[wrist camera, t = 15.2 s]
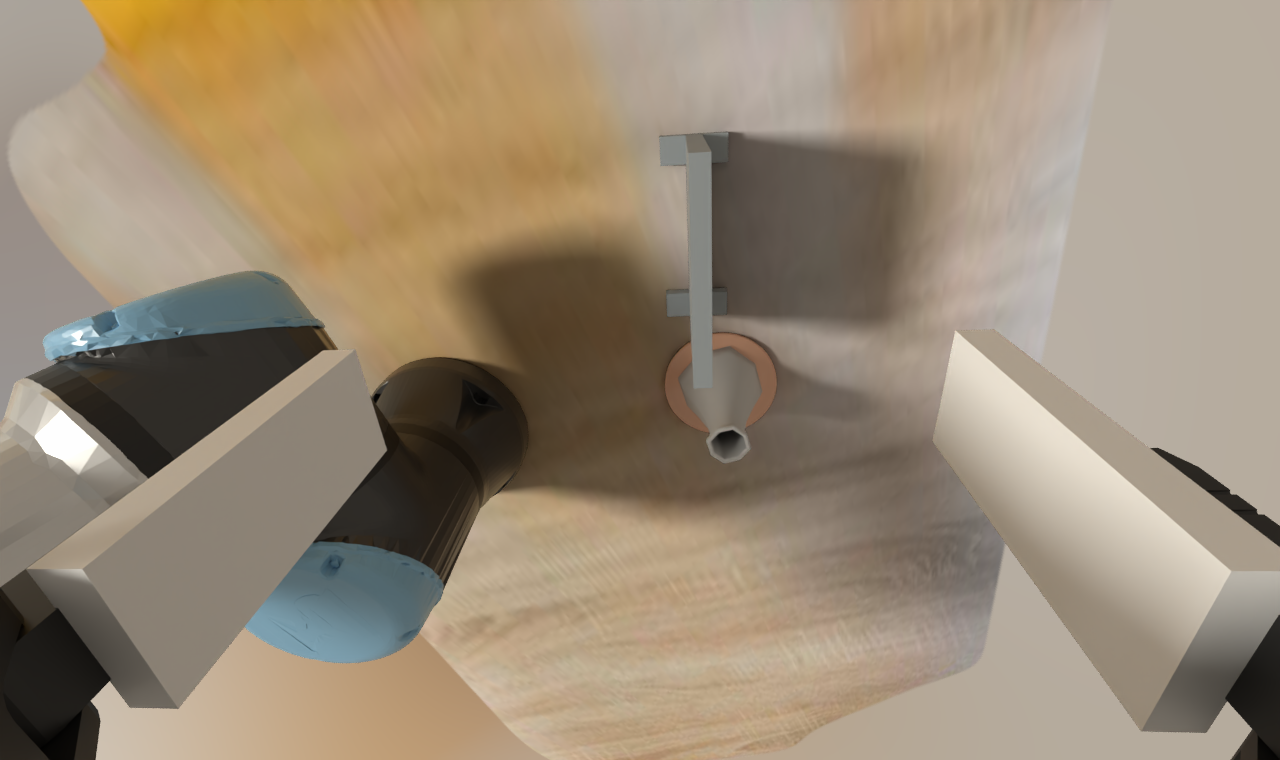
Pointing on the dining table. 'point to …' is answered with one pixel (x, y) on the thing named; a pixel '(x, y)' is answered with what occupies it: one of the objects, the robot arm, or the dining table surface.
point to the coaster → (718, 341)
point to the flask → (725, 402)
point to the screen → (698, 244)
